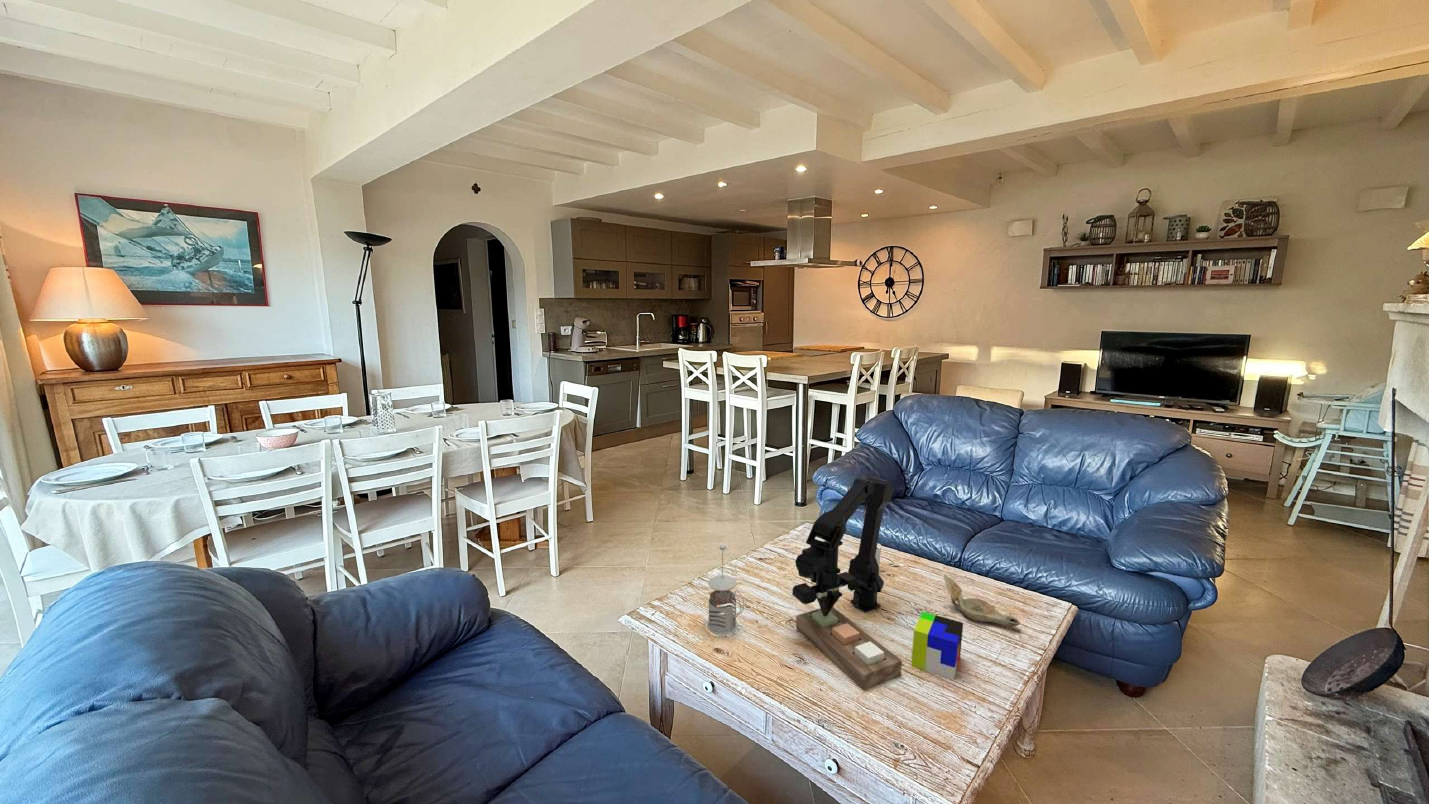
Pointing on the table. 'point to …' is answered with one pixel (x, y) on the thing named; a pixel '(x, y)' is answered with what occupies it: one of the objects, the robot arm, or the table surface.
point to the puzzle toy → (937, 644)
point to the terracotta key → (845, 634)
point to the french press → (721, 596)
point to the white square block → (869, 653)
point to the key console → (849, 651)
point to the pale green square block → (824, 619)
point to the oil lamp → (977, 607)
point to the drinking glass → (878, 553)
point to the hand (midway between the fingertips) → (824, 615)
